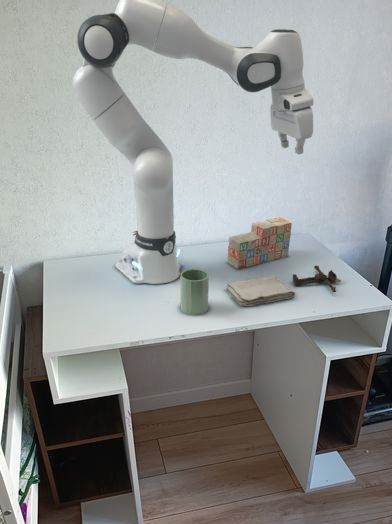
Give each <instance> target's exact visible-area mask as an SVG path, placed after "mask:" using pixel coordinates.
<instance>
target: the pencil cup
mask: <svg viewBox="0 0 392 524" xmlns="http://www.w3.org/2000/svg"><path fill="white" fill-rule="evenodd" d="M179 277H180V281H179V283H180V285H179V286H180V310H181V312H183V313H184V314H187V315H189V316H197V315H198V316H200V315H203V314H205V313H207V312H208V310H209V290H210V289H209V288H210V287H209V286H210V273H209V272H208V271H206V270H204V269H201V268H189V269H185V270H183V271H182V272H180V275H179Z"/></svg>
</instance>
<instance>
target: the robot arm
mask: <svg viewBox="0 0 392 524" xmlns="http://www.w3.org/2000/svg"><path fill="white" fill-rule="evenodd" d="M76 40H77V48H78V50H79V53H80V55H81V56H82V58H83V63H82V65H81V66H80V67H78V69H77V70H76V72H75V73H74V75H73V78H72V88H73V90H74V93H75V94H76V96H77V98H78V100H79V101H80V103H81V105H82V106H83V108H84V110H85V111H86V112H87V114H88V116H89V117H90V118H91V120H92V121H93V123H94V124H95V125H96V126H97V128H98V129H99V130H100V132H101V133H102V134H103V135H104V136H105V138H106V139H107V141H108V142H109V143H110V144H111V146H113V147H114V148H115V149H117V151H119V152H120V153H121V154H122V155H123V156H124V158H125V159H126V160H127V161H129V163H130V164H131V165H132V181H133V182H132V183H133V191H134V199H135V209H136V224H137V230H135V231H132V233H133V234H132V236H135V238H134V241H133V242H131V243H130V244H129V245H127V246H126V247H124V249H123V250H122V259H120V260H118V261H117V262H116V263H115V268H116V269H117V270H118V271H120V272H121V273H122V274H123V275H124V276H125V277H127V279H129V280H130V281H131V282H132V283H133V284H151V285H154V284H155V285H160V284H161V285H162V284H167V283H171V282H173V281H175V280H177V279H178V278H179V277H180V275H181V272H180V269H181V263H180V262H179V254H180V251H181V249H178V248H177V244H176V242H177V241H176V239H177V235H176V231H175V221H174V220H175V217H174V216H175V214H174V213H175V212H174V209H175V208H174V166H173V165H174V161H173V160H174V159H173V155H172V153H171V151H170V150H169V148H168V147H167V145H165V143H164V142H163V141H162V139H161V138H160V137H159V135H158V134H157V133H156V132H155V131H154V130H153V128H152V127H151V126H150V125H149V124H148V123H147V121H146V120H145V119H144V117H143V116H142V115H141V114H140V112H139V111H138V109H137V108H136V107H135V105H134V104H133V102H132V101H131V100H130V98H129V97H128V95H127V94H126V93H125V91H124V89H122V87H121V86H120V84H119V83H118V81H117V80H116V78H115V76H114V72H113V70H114V67H115V65H116V64H117V62H118V61H119V60H120V59H121V57H122V55H123V53H124V50H125V49H126V48H127V46H129V45H137V46H140V47H142V48H145V49H147V50H149V51H151V52H154V53H155V54H157V55H160V56H163V57H167V58H169V59H170V58H171V59H175V60H184V59H194V60H198V61H202V62H204V63H206V64H208V65H210V66H212V67H215V68H217V69H219V70H221V71H223V72H225V73H226V74H227V75H228V76H229V78H230V79H231V80H232V81H233V82H234V83H235V84H236V85H237V86H238V87H240V88H241V89H242V90H244V91H246V92H248V93H253V94H254V93H258V92H261V91H263V90H265V89H268V88H270V91H271V92H270V93H271V104H270V109H269V110H270V111H269V113H270V127H271V129H272V130H273V131H275V132H277V135H278V137H279V138H278V139H279V141H280V147H281V148H282V149H287V148H289V147H290V144H289V143H290V141H289V140H288V137H292V138H294V139H295V142H296V146H295V147H294V151H295V152H294V153H295V154H296V155H302V154H304V146H305V143H306V140H307V139H311V138H312V136H313V134H314V114H313V112H314V111H313V108H312V106H314V97H313V96H312V95H311V93H309V91H308V89H306V87H305V79H304V75H303V71H304V52H303V45H302V39H301V35H300V34H299V32H298V31H296V30H294V29H288V28H286V29H285V28H280V29H279V28H277V29H273V30H272V29H271V30H270V31H269V32H268V34H267V35H266V36H265V37H264V38H263V39H262V40H261V41H260V42H258V43H257V44H256V45H255V46H254V47H252V46H233V45H231V44H228V43H226V42H224V41H222V40H220V39H218V38H217V37H215V36H212V35H210V34H208V33H207V32H206V31H204V30H203V29H202V28H201V27H200V26H199V25H198V24H197V22H196V21H195V20H194V19H193V18H192V17H190V16H189V15H188V14H187V13H185V12H184V11H183V10H181V9H180V8H178V7H176V6H175V5H173V4H172V3H169V2H167V1H165V0H118V3H117V5H116V8H115V11H114V12H111V13H104V14H94V15H91V16H90V17H88V18H86V19H85V20H84V21H83V22H82V23H81V25H80V26H79V29H78V31H77V38H76ZM287 136H288V137H287Z"/></svg>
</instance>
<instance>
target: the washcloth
mask: <svg viewBox="0 0 392 524" xmlns="http://www.w3.org/2000/svg"><path fill="white" fill-rule="evenodd" d="M226 291H227V293H228V294H229V295H230V297H231V298H232V299H233V300H234V301H235V302H236V303H237V304H238V305H239V306H243V307H251V306H256V305H259V304H268V303H273V302H278V301H284V300H289V299H292V298H293V297H295V295H296V292H295V291H294V289H292V288H291V287H289V286H287V285H286V284H284V282H283V281H282V280H281V279H279V278H278V277H276V276H267V277H259V278H252V279H247V280H242V281H241V280H240V281H233V282H229V283H227V284H226Z"/></svg>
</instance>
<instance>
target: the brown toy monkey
mask: <svg viewBox="0 0 392 524" xmlns="http://www.w3.org/2000/svg"><path fill="white" fill-rule="evenodd" d="M313 268H314V270H315V271H316V272H317V273H316V274H315V275H314V276H309V277H304V278H299V277H298V275H297V274H296V273H293V274H292V283H293V284H294V286H295V287H298V286H303V285H304V286H306V285H310V284H319V285H320V284H323V283H324V284H326V285H327V287H329V289H330V290H331V292H332V293H336V292H337V289H336V286H334V285H333V284H335V283H336V282H338V283H340V282H341V281H342V280H341V279H340V278H338V276H337V274H336V273H335V272H334V271H333V269H331V270H329V271H328V273H327V275H326V274H324V273H323V272H322V271H321V269H320V266H319V265H314V266H313Z"/></svg>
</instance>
